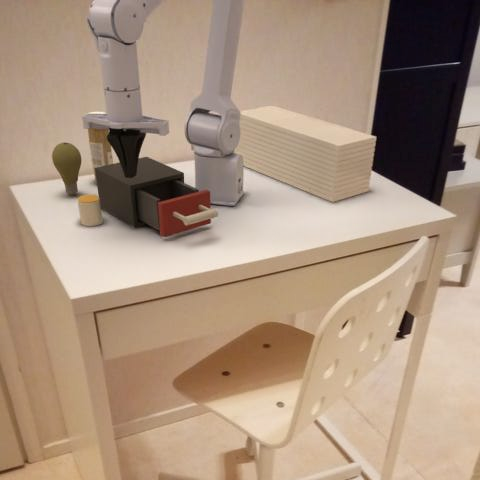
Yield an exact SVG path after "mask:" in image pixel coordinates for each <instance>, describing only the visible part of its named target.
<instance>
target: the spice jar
mask: <svg viewBox="0 0 480 480" xmlns="http://www.w3.org/2000/svg"><path fill="white" fill-rule="evenodd" d="M89 113H90V114H107V113H106V111H105V112H104V111H92V112H91V111H90V112H89ZM87 134H88V144H89V151H90V156H91V158H90V159H91V164H92V170H93V175H94V183H95V184H96V185H97V181H96V174H95V168H97V167H101V166H106V165H111V164H114V158H113V149H112V146H111V145H110V143H109V142H108V141H107V135H108V134H109V130H108V129H97V128H90V129H87Z"/></svg>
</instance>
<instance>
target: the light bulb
mask: <svg viewBox="0 0 480 480" xmlns="http://www.w3.org/2000/svg"><path fill="white" fill-rule="evenodd" d="M51 153H52V154H51V160H52V163H53V166H54V168H55V169H56V171H57V172H58V174H59V175H60V177H61V180H62V182H63V183H64V187H65V193H67V195H70V196H71V197H73V196H76V194H77V193H78V192H79V189H78V181H79V174H80V169H81V167H82V154H81V152H80V150H79V149H78V148H77V146H75V145H74V144H73V143H70V142H60V143H58V144H56V146H55V147H53V151H52V152H51Z"/></svg>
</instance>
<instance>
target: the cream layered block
mask: <svg viewBox="0 0 480 480" xmlns="http://www.w3.org/2000/svg"><path fill="white" fill-rule="evenodd" d="M239 111H240V140H239V143H238V145H237V147H236V149H235V150H234V153H236V154H241V155H242V156H243V164H244V167H246V168H248V169H250V170H253V171H255V172H258V173H260V174H263V175H265V176H268V177H270V178H273V179H275V180H278V181H280V182H282V183H285V184H287V185H290V186H291V187H294V188H297V189H300V190H302V191H304V192H307V193H310V194H312V195H315V196H317V197H318V198H322V199H324V200H327V201H329V202H331V203H334V202H337V201H341V200H344V199H348V198H352V197H354V196H358V195H360V194H364V193H368V192H369V191H370V185H371V177H372V171H373V165H374V157H375V151H376V144H377V143H376V142H377V136H376V135H372V134H369V133H365V132H362V131H359V130H355V129H352V128H349V127H345V126H343V125H342V126H341V125H339V124H336V123H332V122H328V121H325V120H322V119H318V118H315V117H311V116H308V115H306V114H302V113H298V112H295V111H292V110H289V109H285V108H283V107H282V108H281V107H278V106H275V105H268V106H267V105H266V106H261V107H256V108H250V109H245V110H239Z"/></svg>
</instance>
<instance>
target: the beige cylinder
mask: <svg viewBox="0 0 480 480" xmlns="http://www.w3.org/2000/svg"><path fill="white" fill-rule="evenodd" d="M77 205H78V211H79V218H80V223H81V225H83V226H84V227H85V226H86V227H96V226H99V225H101V224H102V223H103V222H104V218H103V212H102V211H103V209H101V203H100V198H99V196H98V195H96V194H85V195H81V196H79V197H78V198H77Z"/></svg>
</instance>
